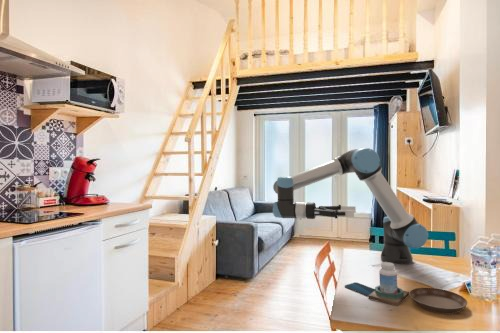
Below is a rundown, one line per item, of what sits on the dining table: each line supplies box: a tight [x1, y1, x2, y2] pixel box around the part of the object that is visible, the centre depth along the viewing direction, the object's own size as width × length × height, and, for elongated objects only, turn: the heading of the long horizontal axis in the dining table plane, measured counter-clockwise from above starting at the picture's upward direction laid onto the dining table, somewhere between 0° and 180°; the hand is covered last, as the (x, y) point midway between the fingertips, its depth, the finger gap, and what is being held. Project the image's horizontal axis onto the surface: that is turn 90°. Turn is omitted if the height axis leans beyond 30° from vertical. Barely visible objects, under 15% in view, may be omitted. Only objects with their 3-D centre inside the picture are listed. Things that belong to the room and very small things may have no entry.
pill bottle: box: [378, 261, 398, 294], centre depth 121 cm, size 6×6×11 cm
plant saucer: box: [409, 287, 468, 315], centre depth 113 cm, size 18×18×3 cm
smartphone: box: [344, 282, 375, 298], centre depth 127 cm, size 8×15×1 cm, turn 30°
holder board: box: [367, 284, 410, 307], centre depth 121 cm, size 13×10×3 cm
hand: (354, 211), depth 139 cm, fingers open, 13 cm apart
